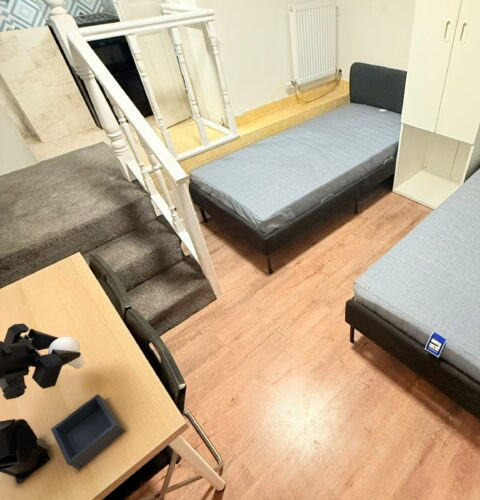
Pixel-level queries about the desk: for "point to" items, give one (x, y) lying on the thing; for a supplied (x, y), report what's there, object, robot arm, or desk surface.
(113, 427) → the bin
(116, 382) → the desk surface
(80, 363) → the lightbulb
